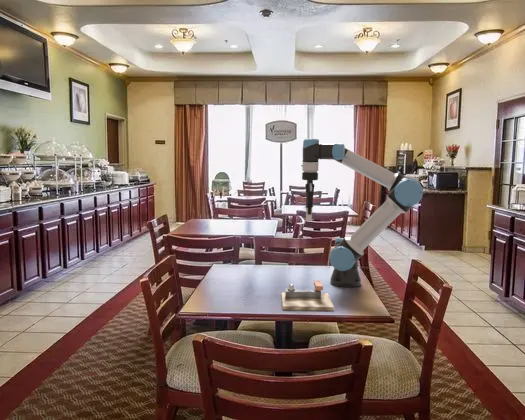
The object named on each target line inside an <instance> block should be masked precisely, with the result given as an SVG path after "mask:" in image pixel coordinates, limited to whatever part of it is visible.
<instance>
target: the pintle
mask: <svg viewBox="0 0 525 420" xmlns="http://www.w3.org/2000/svg"><path fill="white" fill-rule="evenodd" d="M288 288H289V291H294V289H295V287H294V284H292V283H290V284H288ZM290 299H293V298H290Z"/></svg>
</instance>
